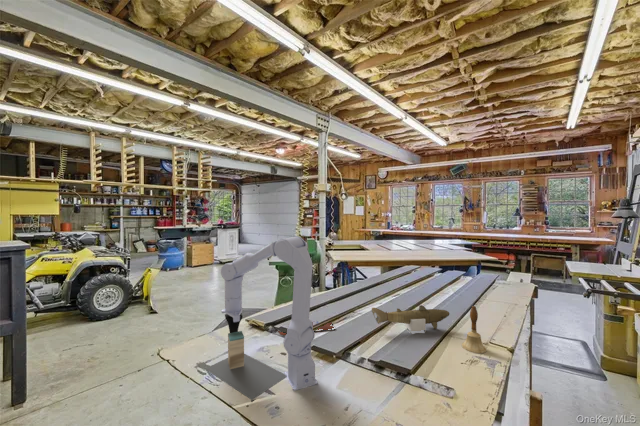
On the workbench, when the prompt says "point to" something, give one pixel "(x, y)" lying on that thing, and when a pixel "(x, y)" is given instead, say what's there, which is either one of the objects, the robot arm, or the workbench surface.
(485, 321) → the workbench surface
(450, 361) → the workbench surface
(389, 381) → the workbench surface
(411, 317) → the wood carving
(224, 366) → the rubber mat
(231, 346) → the beech block
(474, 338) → the hand bell
